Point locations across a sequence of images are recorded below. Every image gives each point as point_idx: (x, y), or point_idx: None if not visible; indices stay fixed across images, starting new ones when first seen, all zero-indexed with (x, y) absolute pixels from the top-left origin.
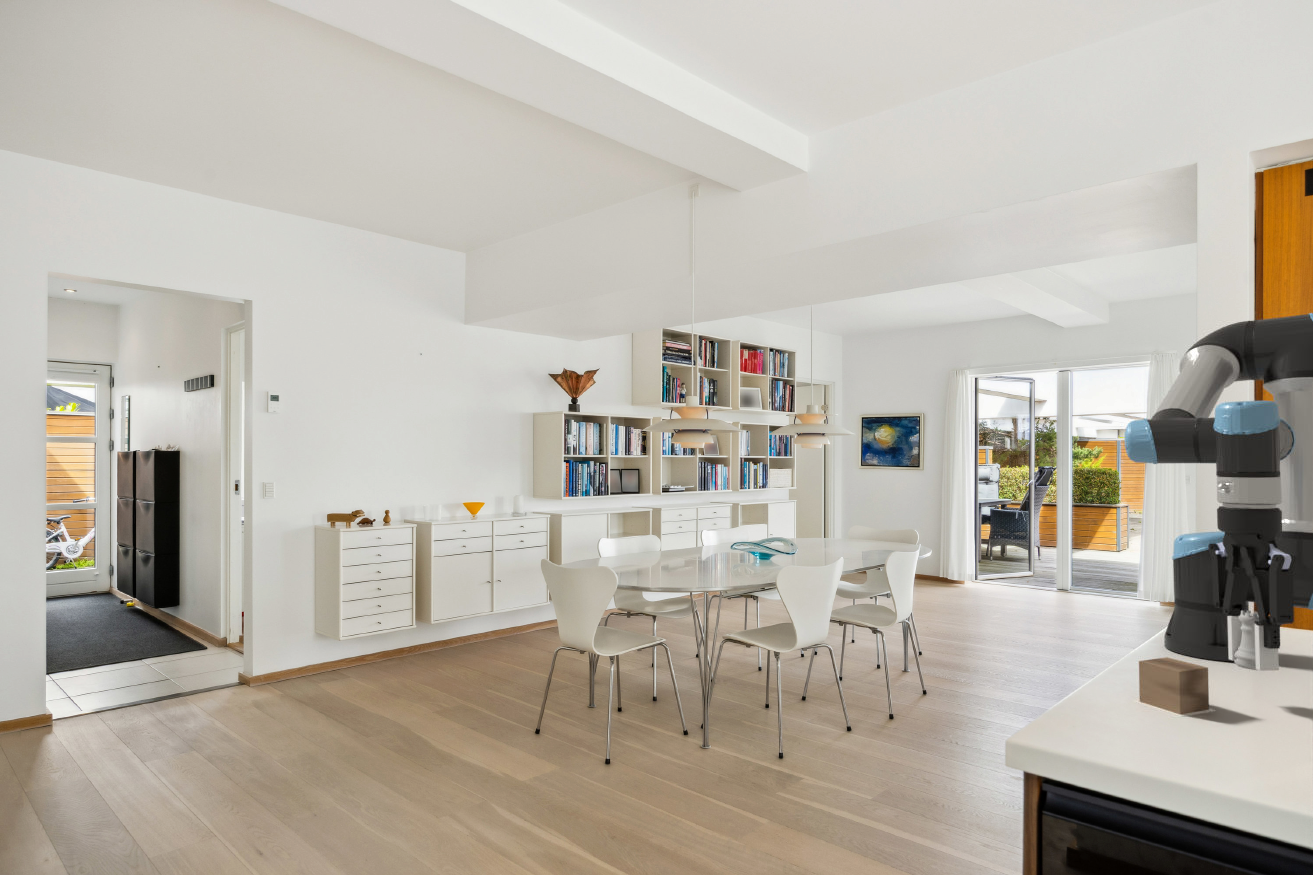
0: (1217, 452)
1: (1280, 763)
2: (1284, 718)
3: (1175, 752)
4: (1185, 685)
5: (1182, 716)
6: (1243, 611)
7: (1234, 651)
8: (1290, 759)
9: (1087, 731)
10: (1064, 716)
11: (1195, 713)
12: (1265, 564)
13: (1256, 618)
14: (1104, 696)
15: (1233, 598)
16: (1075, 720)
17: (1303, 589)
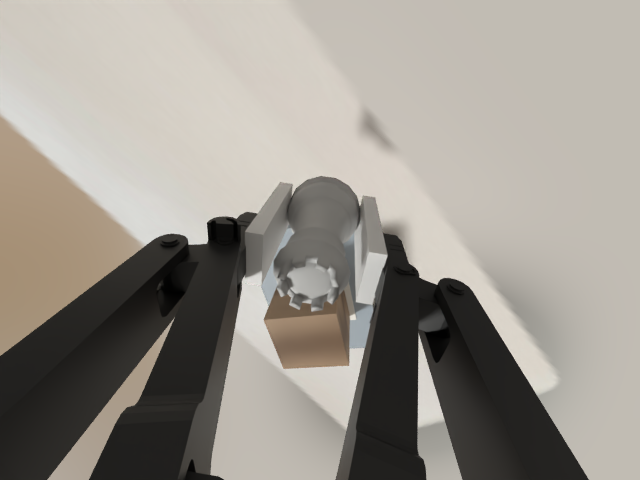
0: None
1: (485, 311)
2: (362, 150)
3: (419, 369)
4: (347, 337)
5: (356, 318)
6: (286, 293)
7: (285, 228)
8: (482, 292)
9: (349, 391)
10: (306, 382)
11: (349, 296)
12: None
13: (339, 288)
14: (241, 309)
15: (233, 320)
16: (318, 382)
17: None
